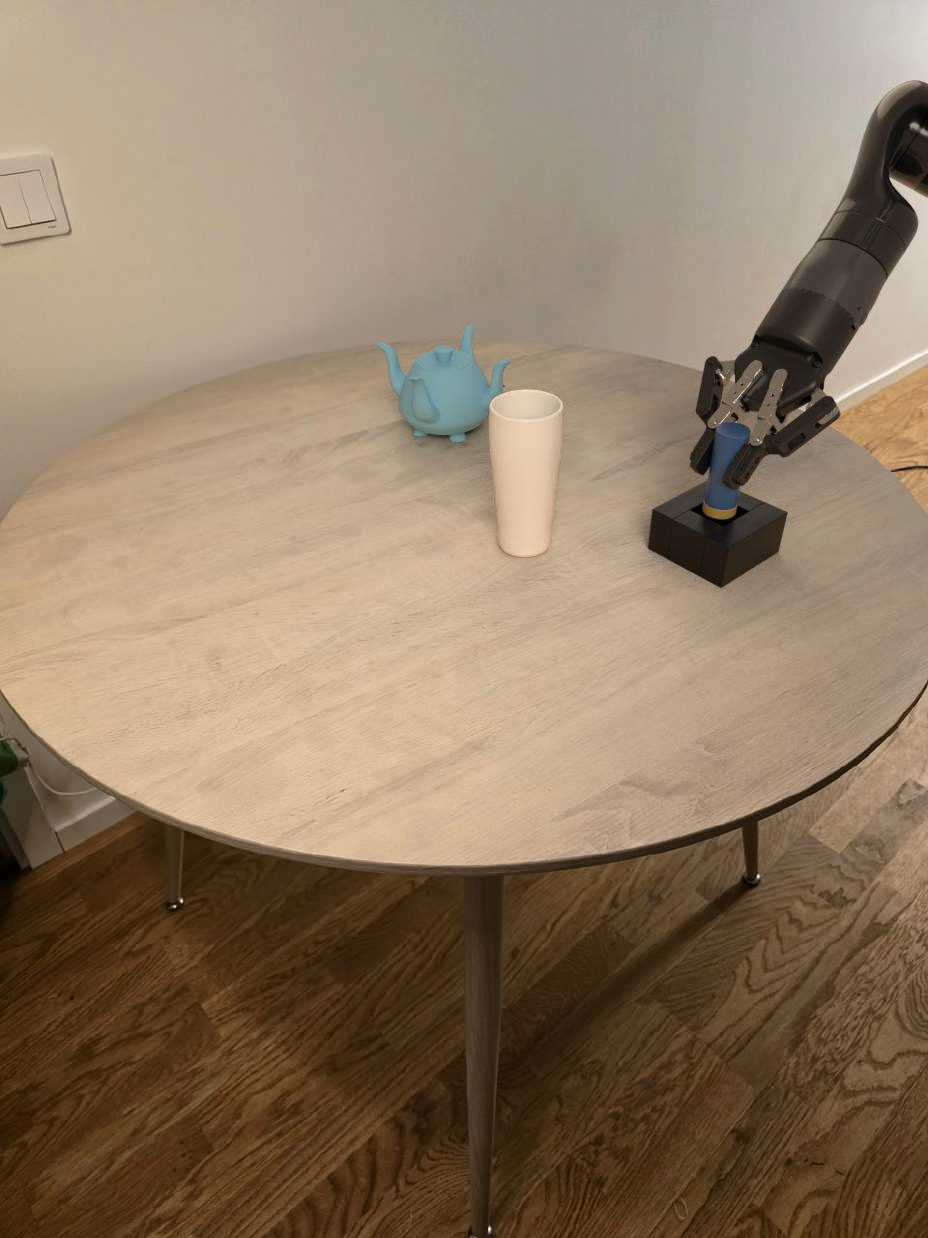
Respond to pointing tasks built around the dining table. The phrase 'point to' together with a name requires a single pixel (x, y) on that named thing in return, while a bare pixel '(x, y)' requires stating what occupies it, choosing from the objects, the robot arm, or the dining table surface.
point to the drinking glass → (525, 467)
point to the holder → (716, 535)
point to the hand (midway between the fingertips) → (712, 477)
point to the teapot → (444, 389)
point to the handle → (724, 470)
